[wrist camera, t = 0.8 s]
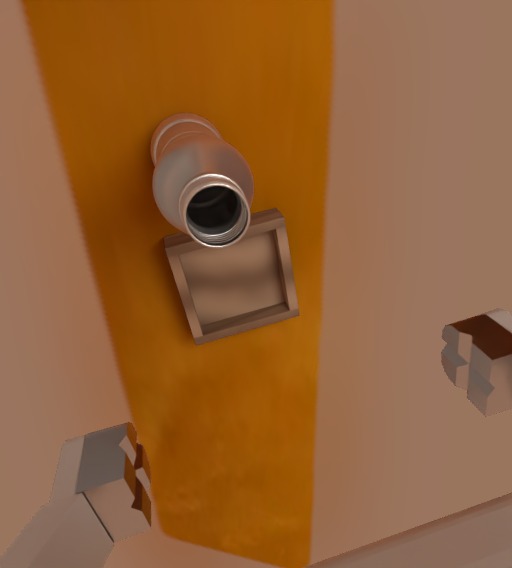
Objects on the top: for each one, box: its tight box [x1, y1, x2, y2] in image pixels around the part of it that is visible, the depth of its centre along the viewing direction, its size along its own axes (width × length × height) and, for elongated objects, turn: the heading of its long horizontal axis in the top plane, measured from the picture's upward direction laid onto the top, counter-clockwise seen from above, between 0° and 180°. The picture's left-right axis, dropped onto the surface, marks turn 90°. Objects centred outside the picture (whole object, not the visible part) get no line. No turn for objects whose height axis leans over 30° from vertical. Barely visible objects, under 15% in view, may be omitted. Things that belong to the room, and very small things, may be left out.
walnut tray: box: [164, 208, 300, 345], centre depth 45 cm, size 12×12×3 cm
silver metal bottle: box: [150, 113, 254, 249], centre depth 31 cm, size 6×7×20 cm
